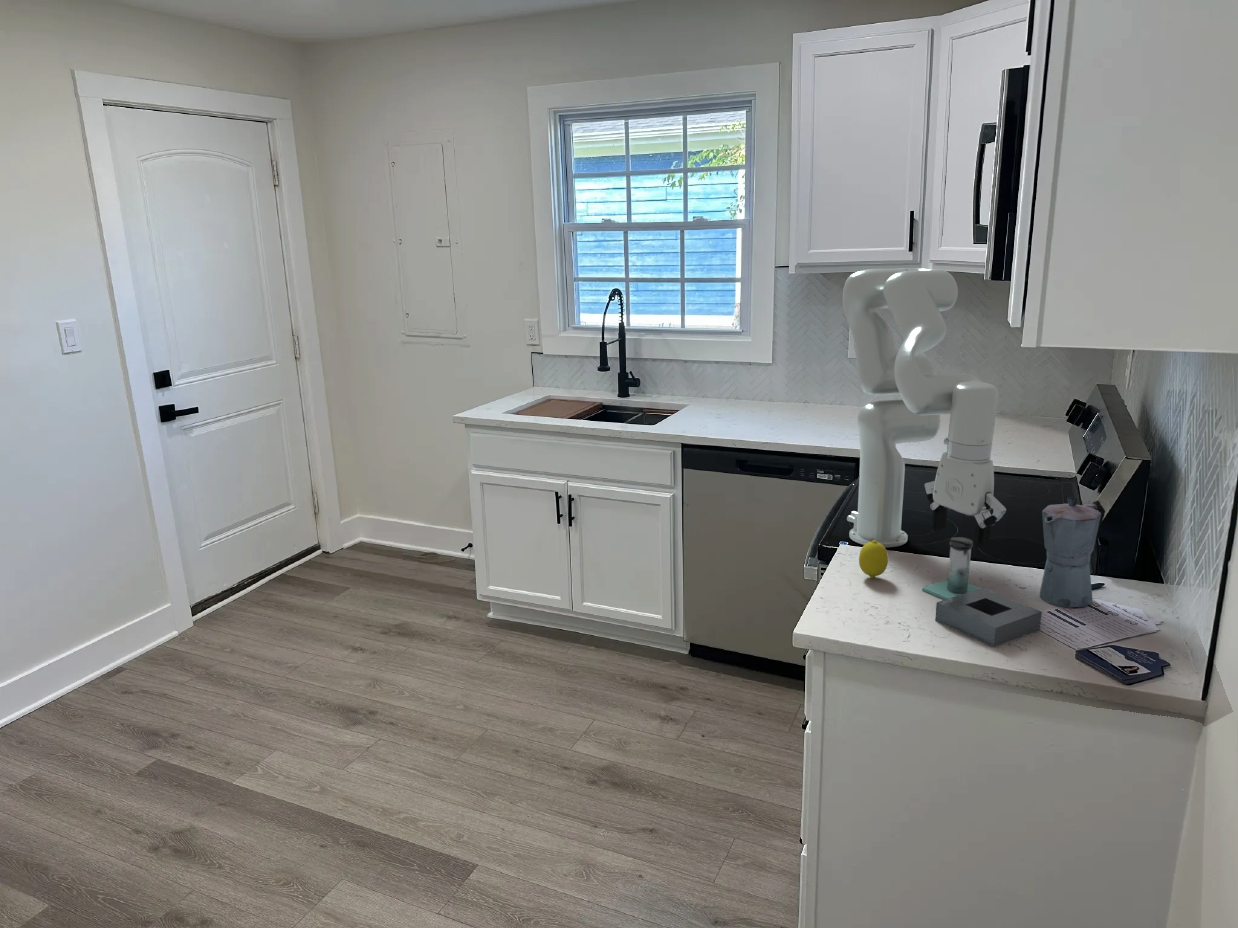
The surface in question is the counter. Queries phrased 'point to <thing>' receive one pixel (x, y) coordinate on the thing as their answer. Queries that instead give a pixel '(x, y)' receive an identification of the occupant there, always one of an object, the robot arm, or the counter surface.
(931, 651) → the counter surface
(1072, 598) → the moka pot
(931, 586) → the pad
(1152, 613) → the counter surface
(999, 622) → the socket block
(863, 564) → the lemon
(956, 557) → the clear capped vial
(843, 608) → the counter surface
